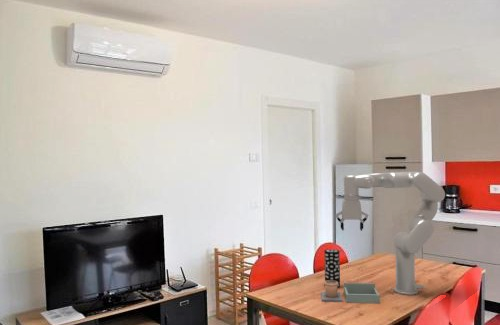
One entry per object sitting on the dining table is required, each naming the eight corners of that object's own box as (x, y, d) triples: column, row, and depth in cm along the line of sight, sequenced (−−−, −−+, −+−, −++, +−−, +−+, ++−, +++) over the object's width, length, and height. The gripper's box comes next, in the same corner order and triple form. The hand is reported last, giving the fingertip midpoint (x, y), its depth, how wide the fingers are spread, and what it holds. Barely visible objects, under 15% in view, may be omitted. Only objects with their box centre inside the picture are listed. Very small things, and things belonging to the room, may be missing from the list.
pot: (337, 293, 214) (337, 280, 214) (338, 298, 207) (338, 284, 207) (324, 293, 215) (323, 279, 215) (324, 297, 208) (324, 283, 208)
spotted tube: (340, 284, 233) (339, 249, 233) (339, 289, 225) (339, 252, 225) (325, 283, 236) (325, 248, 236) (324, 288, 228) (323, 252, 228)
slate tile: (340, 294, 217) (340, 292, 217) (342, 301, 205) (342, 299, 205) (320, 293, 218) (320, 291, 218) (322, 301, 206) (321, 299, 206)
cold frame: (375, 294, 215) (374, 283, 215) (379, 303, 202) (379, 291, 202) (343, 294, 217) (343, 282, 217) (346, 302, 204) (346, 290, 204)
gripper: (367, 197, 222) (367, 229, 222) (334, 197, 224) (334, 228, 224) (369, 198, 214) (369, 231, 214) (335, 198, 217) (336, 231, 217)
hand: (351, 230), depth 219 cm, fingers open, 9 cm apart
